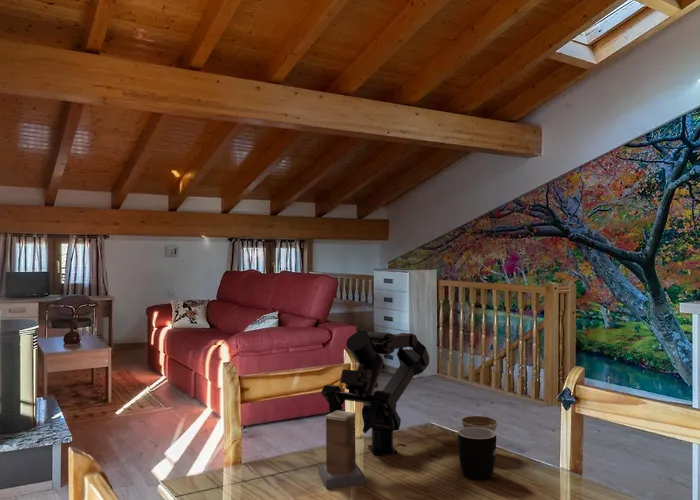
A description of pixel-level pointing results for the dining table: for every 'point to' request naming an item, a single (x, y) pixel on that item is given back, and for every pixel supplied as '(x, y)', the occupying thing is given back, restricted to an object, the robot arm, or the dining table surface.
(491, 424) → the flower pot
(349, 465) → the brown tall rectangular block
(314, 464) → the dining table surface
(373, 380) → the robot arm
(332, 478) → the slate base
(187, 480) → the dining table surface
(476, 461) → the mug
